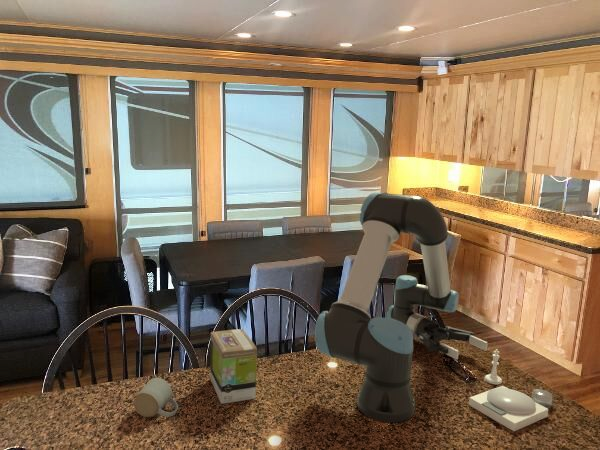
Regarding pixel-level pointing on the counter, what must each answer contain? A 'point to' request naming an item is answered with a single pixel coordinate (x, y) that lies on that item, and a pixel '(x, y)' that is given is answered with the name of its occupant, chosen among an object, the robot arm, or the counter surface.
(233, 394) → the tea box
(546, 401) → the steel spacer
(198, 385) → the counter surface
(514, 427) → the scale
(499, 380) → the chess piece
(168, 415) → the ceramic mug
